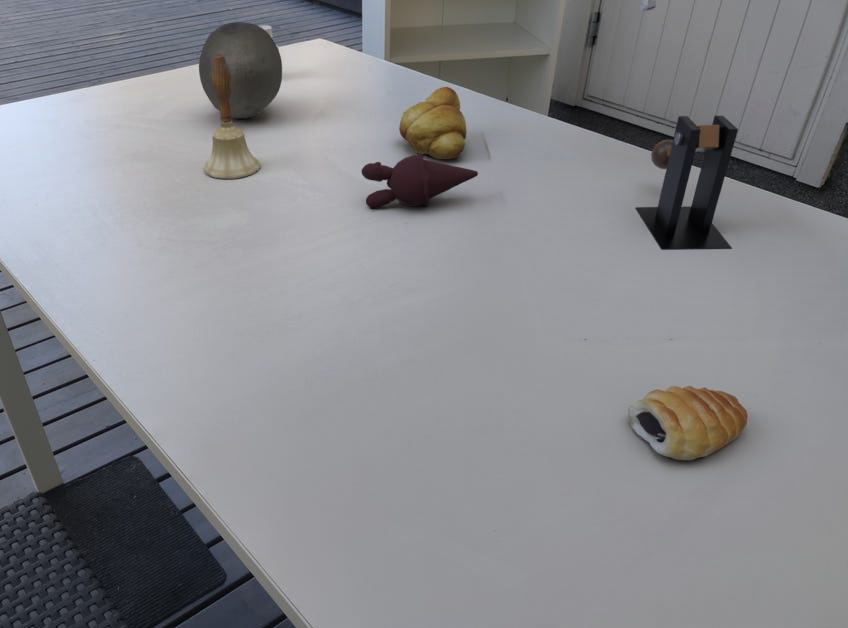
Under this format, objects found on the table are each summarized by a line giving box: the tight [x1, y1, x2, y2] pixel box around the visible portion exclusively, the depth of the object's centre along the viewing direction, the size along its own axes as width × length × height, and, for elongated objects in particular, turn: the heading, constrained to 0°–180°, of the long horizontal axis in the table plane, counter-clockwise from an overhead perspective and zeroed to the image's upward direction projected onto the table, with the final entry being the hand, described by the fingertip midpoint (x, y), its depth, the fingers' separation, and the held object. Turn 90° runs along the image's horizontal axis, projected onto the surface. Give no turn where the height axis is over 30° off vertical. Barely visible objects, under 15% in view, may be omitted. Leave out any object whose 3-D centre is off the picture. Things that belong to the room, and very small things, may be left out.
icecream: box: [361, 152, 479, 209], centre depth 97 cm, size 7×7×15 cm
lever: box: [650, 124, 720, 170], centre depth 88 cm, size 14×4×4 cm
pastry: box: [627, 385, 749, 461], centre depth 61 cm, size 9×7×4 cm
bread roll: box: [398, 86, 468, 160], centre depth 111 cm, size 13×10×8 cm
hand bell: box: [203, 54, 262, 180], centre depth 105 cm, size 8×8×16 cm
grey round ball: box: [198, 21, 283, 120], centre depth 123 cm, size 14×14×15 cm
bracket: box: [634, 115, 739, 251], centre depth 86 cm, size 11×8×14 cm
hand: (686, 4), depth 93 cm, fingers open, 8 cm apart
